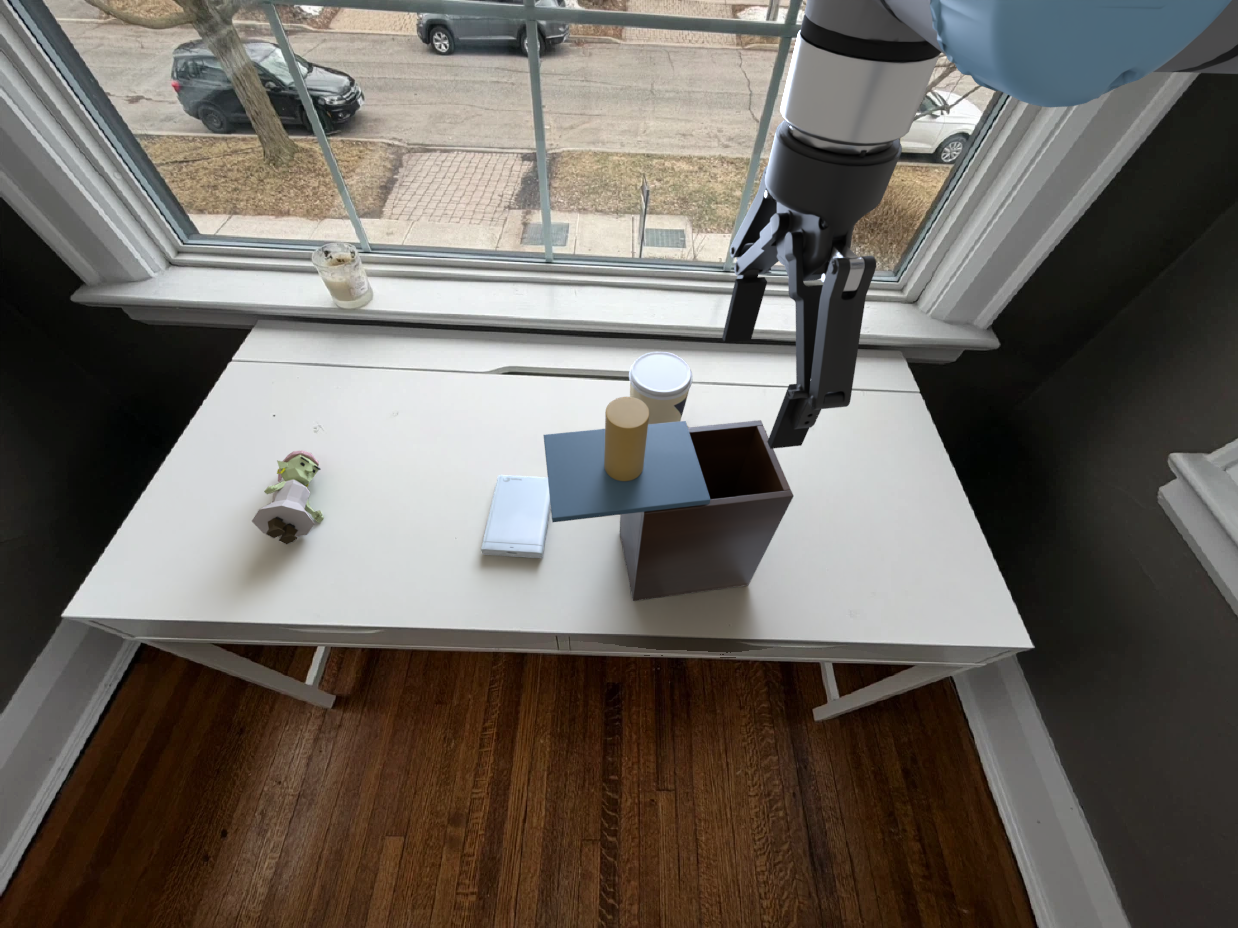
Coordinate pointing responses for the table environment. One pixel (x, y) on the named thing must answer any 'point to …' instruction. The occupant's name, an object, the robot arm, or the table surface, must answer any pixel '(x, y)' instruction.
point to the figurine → (290, 500)
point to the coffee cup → (661, 385)
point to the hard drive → (518, 517)
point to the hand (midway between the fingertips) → (758, 387)
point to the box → (711, 519)
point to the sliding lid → (623, 466)
